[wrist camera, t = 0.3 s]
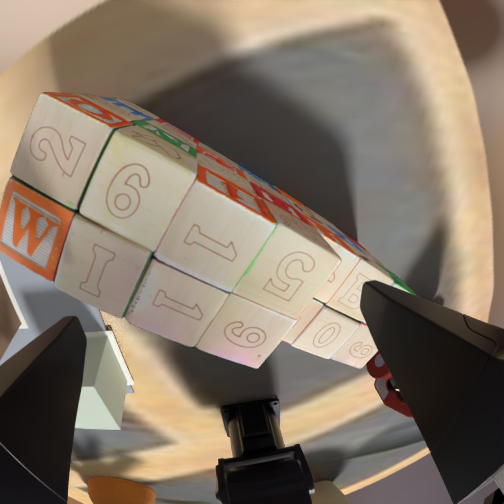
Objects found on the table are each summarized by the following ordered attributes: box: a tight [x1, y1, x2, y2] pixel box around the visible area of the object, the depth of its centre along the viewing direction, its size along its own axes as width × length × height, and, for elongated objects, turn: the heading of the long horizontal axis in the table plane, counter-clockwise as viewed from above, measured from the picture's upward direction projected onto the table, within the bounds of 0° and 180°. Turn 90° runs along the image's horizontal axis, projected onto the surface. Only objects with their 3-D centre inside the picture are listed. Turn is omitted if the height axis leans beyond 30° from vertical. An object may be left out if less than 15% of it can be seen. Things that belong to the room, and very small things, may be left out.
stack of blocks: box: [0, 92, 417, 368], centre depth 17 cm, size 21×6×12 cm, turn 57°
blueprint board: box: [0, 252, 135, 393], centre depth 23 cm, size 20×19×1 cm
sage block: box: [75, 337, 127, 430], centre depth 23 cm, size 6×6×6 cm
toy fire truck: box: [367, 351, 413, 418], centre depth 27 cm, size 7×12×10 cm, turn 150°
